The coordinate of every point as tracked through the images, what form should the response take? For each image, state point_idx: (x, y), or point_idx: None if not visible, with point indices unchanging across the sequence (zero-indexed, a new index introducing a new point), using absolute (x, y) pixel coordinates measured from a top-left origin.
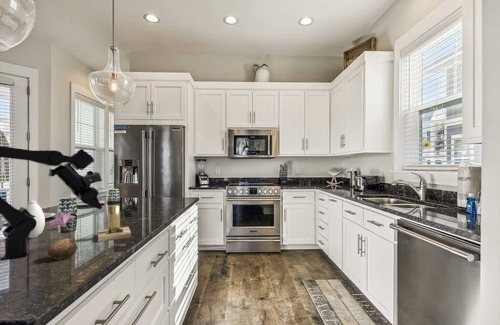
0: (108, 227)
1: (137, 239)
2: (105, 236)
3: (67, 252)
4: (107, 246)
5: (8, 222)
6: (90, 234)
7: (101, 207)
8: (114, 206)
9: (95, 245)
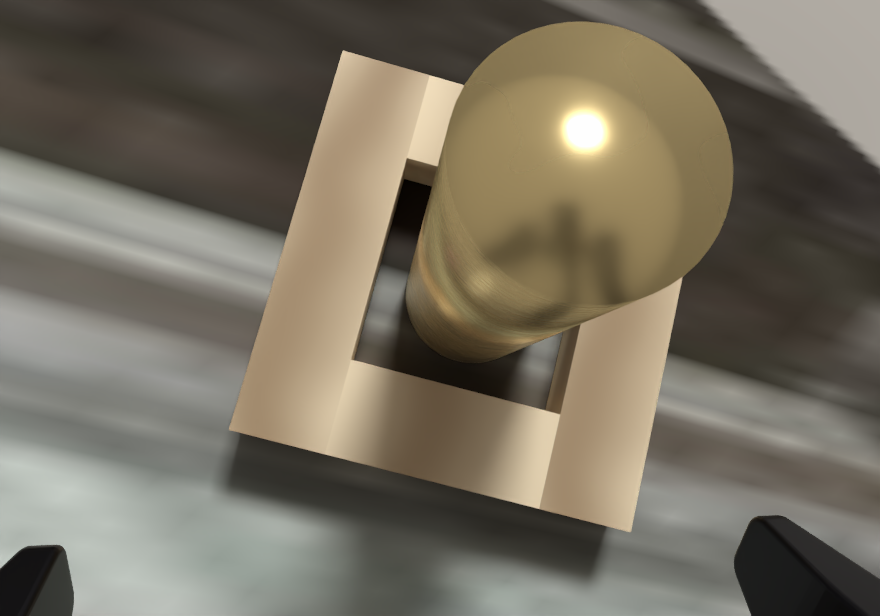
0: (489, 353)
1: (805, 155)
2: (645, 443)
3: None
4: (856, 483)
5: None
6: (141, 508)
7: (788, 535)
8: (727, 189)
9: (730, 578)
